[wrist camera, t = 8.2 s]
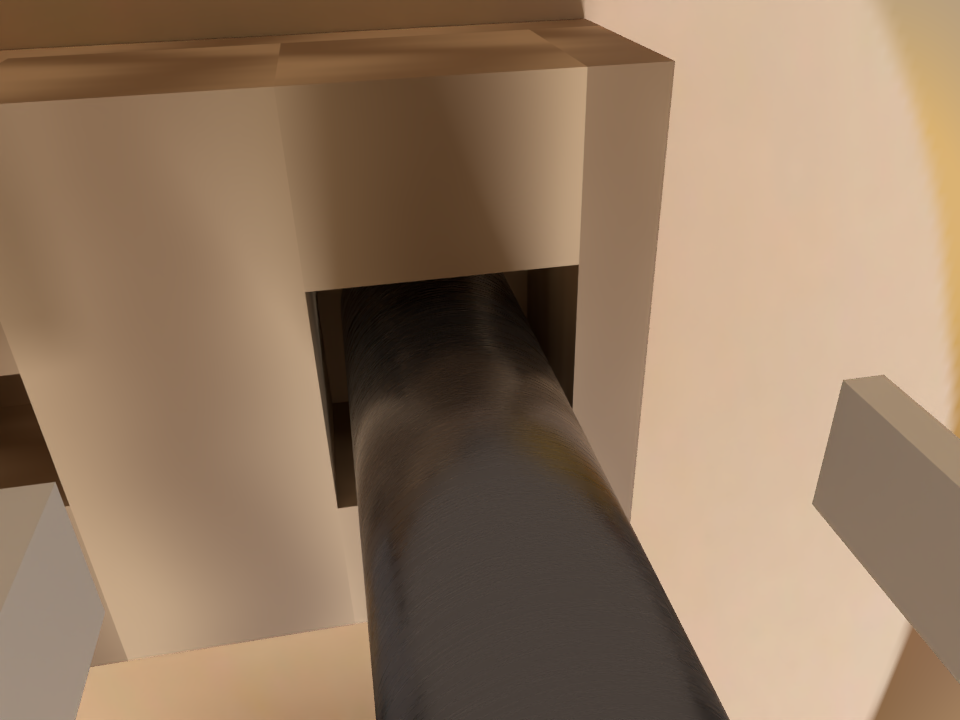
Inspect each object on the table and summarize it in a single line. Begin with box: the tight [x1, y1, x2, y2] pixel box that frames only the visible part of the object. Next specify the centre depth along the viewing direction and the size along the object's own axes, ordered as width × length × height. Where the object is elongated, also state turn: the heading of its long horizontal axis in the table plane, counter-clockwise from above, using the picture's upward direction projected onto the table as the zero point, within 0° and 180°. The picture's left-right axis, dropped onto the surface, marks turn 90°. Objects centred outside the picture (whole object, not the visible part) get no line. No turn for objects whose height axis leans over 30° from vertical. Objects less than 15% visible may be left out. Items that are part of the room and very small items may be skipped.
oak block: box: [0, 19, 675, 667], centre depth 17 cm, size 17×12×5 cm
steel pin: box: [340, 272, 729, 720], centre depth 14 cm, size 4×4×13 cm
